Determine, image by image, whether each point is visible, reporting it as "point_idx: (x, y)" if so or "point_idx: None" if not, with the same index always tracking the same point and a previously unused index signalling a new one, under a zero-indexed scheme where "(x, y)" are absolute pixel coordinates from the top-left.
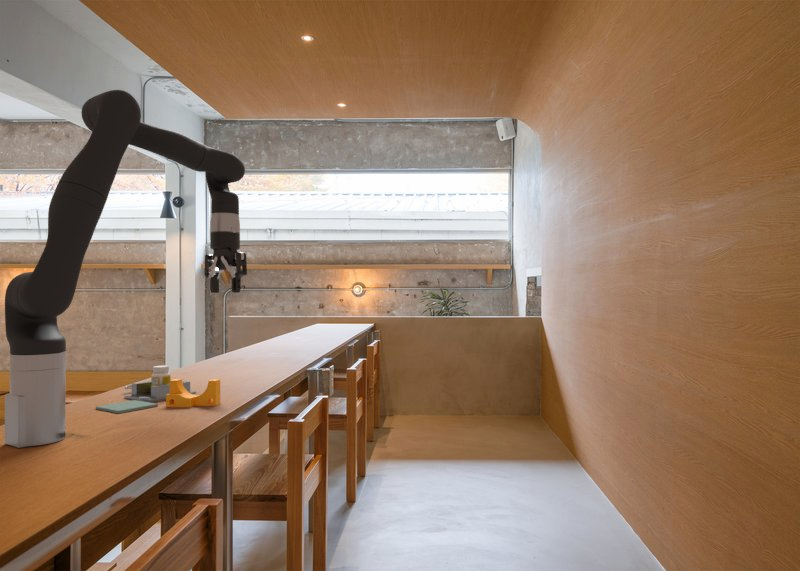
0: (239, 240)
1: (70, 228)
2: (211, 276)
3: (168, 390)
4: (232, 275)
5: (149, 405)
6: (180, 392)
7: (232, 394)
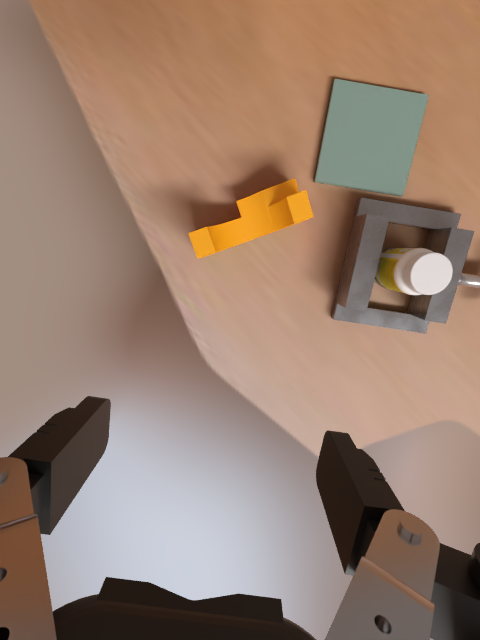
0: None
1: None
2: (381, 524)
3: (354, 247)
4: (3, 468)
5: (319, 159)
6: (274, 204)
7: (263, 356)
